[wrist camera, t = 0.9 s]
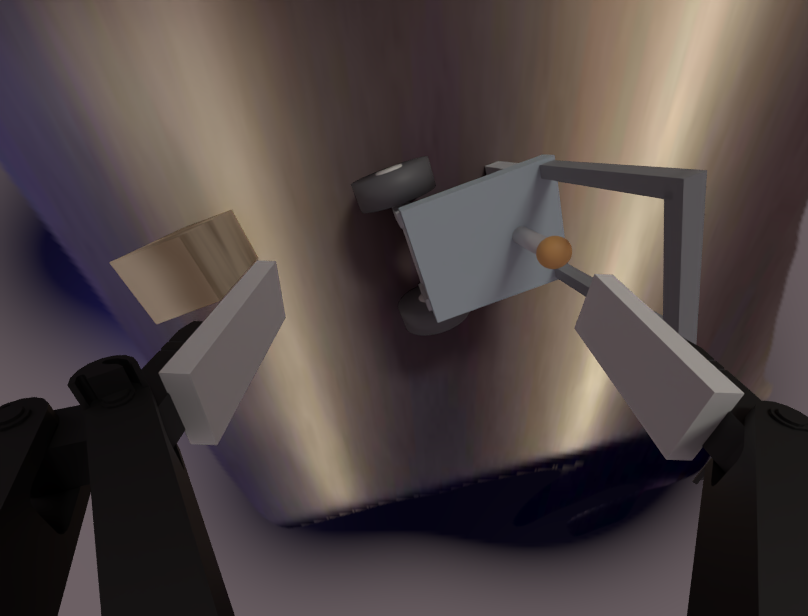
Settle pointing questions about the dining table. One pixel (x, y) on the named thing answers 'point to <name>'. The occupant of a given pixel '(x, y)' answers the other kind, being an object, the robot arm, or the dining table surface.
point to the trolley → (525, 234)
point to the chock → (187, 267)
